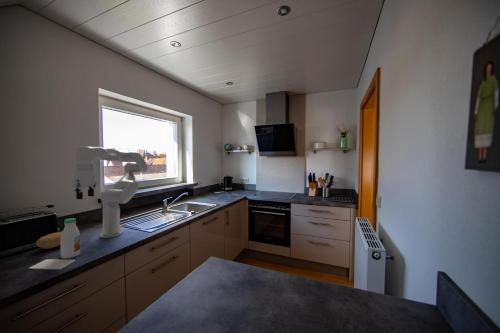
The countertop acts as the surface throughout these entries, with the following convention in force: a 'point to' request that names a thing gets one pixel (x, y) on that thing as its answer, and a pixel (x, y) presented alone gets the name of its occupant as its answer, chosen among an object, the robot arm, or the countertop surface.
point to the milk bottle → (70, 239)
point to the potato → (49, 241)
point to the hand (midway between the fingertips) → (85, 197)
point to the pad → (52, 264)
